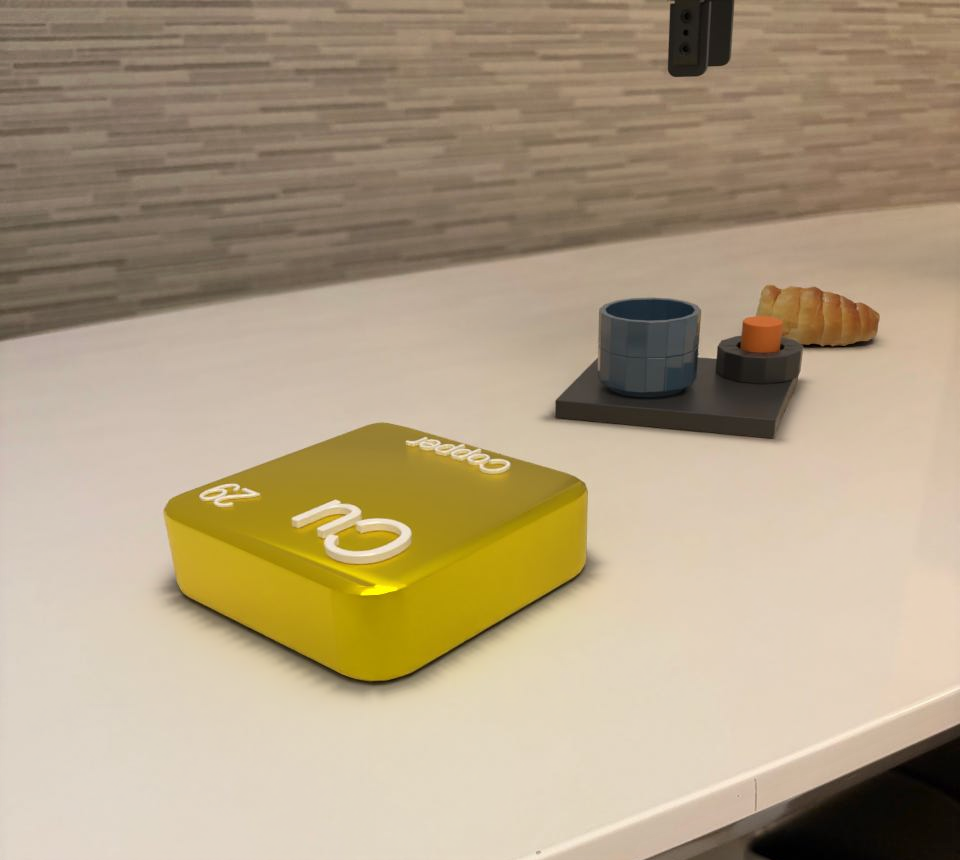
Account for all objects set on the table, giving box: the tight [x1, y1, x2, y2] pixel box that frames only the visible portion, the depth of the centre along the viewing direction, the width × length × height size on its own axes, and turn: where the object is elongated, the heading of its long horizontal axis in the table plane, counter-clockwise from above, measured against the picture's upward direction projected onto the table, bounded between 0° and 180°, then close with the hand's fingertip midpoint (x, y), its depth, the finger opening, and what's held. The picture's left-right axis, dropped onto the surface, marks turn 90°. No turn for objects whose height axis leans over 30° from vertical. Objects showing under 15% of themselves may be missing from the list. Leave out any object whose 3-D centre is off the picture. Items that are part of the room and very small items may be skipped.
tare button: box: [740, 315, 783, 353], centre depth 73 cm, size 3×3×2 cm
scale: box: [554, 335, 804, 439], centre depth 72 cm, size 14×12×3 cm
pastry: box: [755, 284, 881, 348], centre depth 84 cm, size 9×7×4 cm
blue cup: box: [597, 297, 702, 398], centre depth 71 cm, size 6×6×5 cm
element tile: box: [162, 422, 589, 682], centre depth 50 cm, size 15×15×5 cm
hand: (700, 71), depth 66 cm, fingers open, 8 cm apart
